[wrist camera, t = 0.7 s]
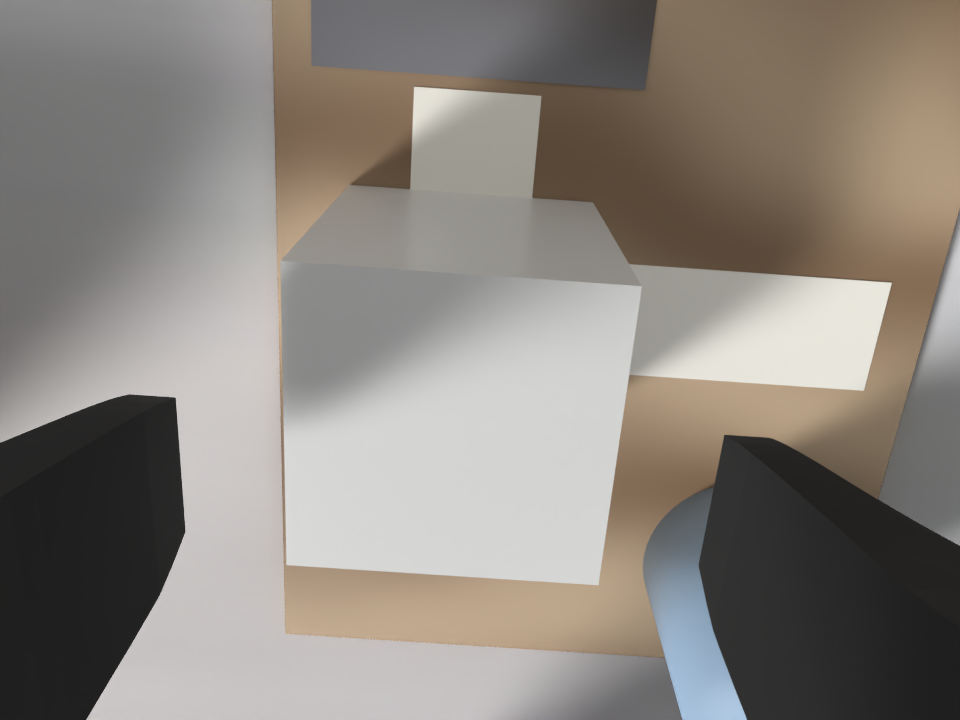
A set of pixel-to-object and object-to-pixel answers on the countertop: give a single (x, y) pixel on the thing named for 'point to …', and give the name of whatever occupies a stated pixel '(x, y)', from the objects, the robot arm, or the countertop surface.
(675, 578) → the blue cylinder
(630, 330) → the grey block
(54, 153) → the countertop surface
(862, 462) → the board
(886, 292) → the letter T
